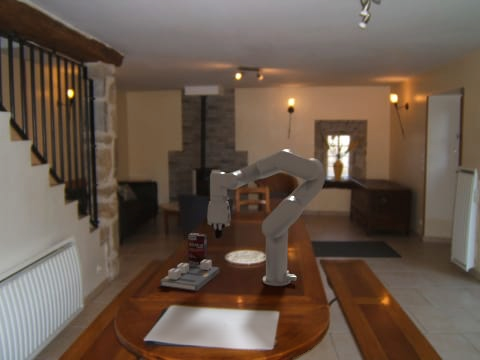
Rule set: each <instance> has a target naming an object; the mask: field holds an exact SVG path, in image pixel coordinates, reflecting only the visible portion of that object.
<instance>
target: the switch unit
mask: <svg viewBox="0 0 480 360" xmlns="http://www.w3.org/2000/svg"><path fill="white" fill-rule="evenodd" d="M188 264H189V263H188ZM219 273H220V266H219V267H217V266H212V268H210V269H209V270H203V269H201V265H194V264H189V271H188V272H187V273H186V274H183V273H181V277H180V278H178V279H177V280H174V279H169V278H168V275H165V277H163V278H162V279H160V281H159V283H160V284H159V285H160V287H167V288H173V289H180V290H187V291H193V292H194V291H195V292H199V290H200V289H202V288H203V287H204V286H205V285H206V284H207V283H208V282H210V281H211V280H212V279H214V278H215V277H216V276H217V275H218V274H219Z"/></svg>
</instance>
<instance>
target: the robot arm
mask: <svg viewBox="0 0 480 360" xmlns="http://www.w3.org/2000/svg"><path fill="white" fill-rule="evenodd" d="M281 172H283V173H286V174H289V175H292V176H294V177H296V178H299V179H301V180H302V181H301V183H300V184H299V185H298V186H296V188H295V189H294V190H293V191H292V192H291V193H290V194H289V195H288V196H287V197H285V198H284V199H283V200H282V201H281V202H280V203H279V204H278V206H276V207H275V208H274V209H273V211H271V213H270V214H268V216H267V217H266V218H264V220H263V222H262V224H261V232H262V234H263V235H264V236H265V275H264V276H263V277H262V282H263V283H264V284H265V285H268V286H272V287H284V286H286V285H289V284H290V283H291V281H294V282H295V281H297V279H298V278H297V276H296V275H295V274H290V270H288V235H289V228H290V227H291V226H292V225H293V224H294V223H295V222H296V221H297V220H298V219H299V218H300V217H301V215H302V213H303V211H304V210H305V209H306V208H307V206H309V204H310V203H312V201H313V200H314V199H315V198H316V197H317V196H318V194H319V193H320V192H321V190H322V188H323V186H324V185H325V179H326V173H325V169H324V165H323V163H322V162H321V161H320V160H319V159H317V158H313V157H311V158H306V157H303V156H300V155H298V154H296V152H295V151H293V149H288V148H285V149H282V150H279V151H277V152H275V153H274V152H273V153H272V154H270V155H268V156H265V157H262V158H260V159H257V161H254V163H252V164H250V165H246V166H245V167H242V168H240V169H237V170H234V171H232V172H229V173H227V172H224V171H212V172H210V175H209V180H210V181H209V191H210V192H209V193H210V195H209V196H210V201H209V202H208V205H207V216H206V217H207V225H209V226H212V228H214V234H215V235H214V236H215V238H216V239H221V238H222V237H223V229H224V228H225V227H229V226H231V223H230V222H231V221H232V220H231V209H230V208H231V207H230V203H229V200H230V196H228V194H227V192H228V190H236V189H239V188H241V187H242V186H244V185H247V184H249V183H252V182H255V181H257V180H261V179H262V180H263V179H266V178H268V177H271V176H274V175H277V174H279V173H281Z"/></svg>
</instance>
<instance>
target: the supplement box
mask: <svg viewBox="0 0 480 360" xmlns="http://www.w3.org/2000/svg"><path fill="white" fill-rule="evenodd" d="M187 240H188V241H187V250H188V251H187V252H188V253H187V255H188V258H187V259H188V263H187V264H194V265H201V263H200V262H201V261H203V260H204V259H205V260H208V259H207V258H208V257H207V253H208V252H207V250H208V249H207V246H208V245H207V243H208V242H207V233H195V232H193V233H192V232H190V233H189V234H188V235H187Z"/></svg>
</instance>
